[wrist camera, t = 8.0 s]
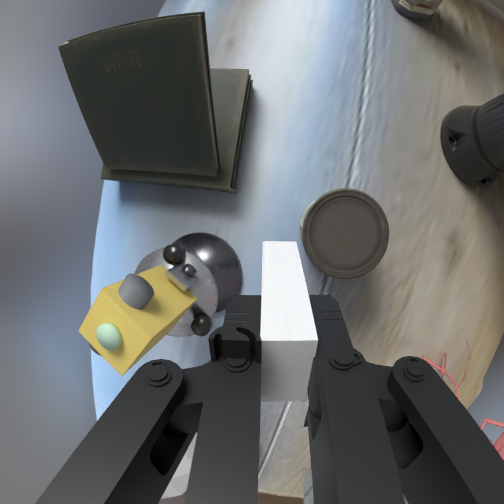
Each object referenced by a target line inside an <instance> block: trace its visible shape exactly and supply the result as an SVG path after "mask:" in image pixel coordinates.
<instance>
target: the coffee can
mask: <svg viewBox="0 0 504 504" xmlns="http://www.w3.org/2000/svg"><path fill="white" fill-rule="evenodd" d="M299 228H300V236H301V239H302V241H303V245H304V248H305V251H306V253H307V255H308V257H309V259H310V260H311V262H312V263H313V264H314V265H315V266H316V267H317V268H318V269H319V270H320V271H322V272H323V273H325V274H327V275H329V276H332V277H335V278H339V279H351V278H356V277H359V276H362V275H364V274H366V273H368V272H369V271H371V270H372V269H373V268H374V267H375V266H376V265H377V264H378V263H379V262H380V260H381V259H382V257H383V256H384V253H385V251H386V249H387V245H388V241H389V226H388V222H387V218H386V216H385V213H384V212H383V210H382V208H381V207H380V205H379V204H378V203H377V202H376V201H375V200H374V199H373V198H372V197H370V196H369V195H367V194H366V193H364V192H361V191H359V190H355V189H347V188H343V189H336V190H333V191H330V192H328V193H326V194H324V195H322V196H321V197H320V198H318V199H317V200H315V201H313V202H312V203H311V204H310V205H309V206H308V207H307V208H306V209H305V211H304V212H303V214H302V217H301V220H300V227H299Z"/></svg>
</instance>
